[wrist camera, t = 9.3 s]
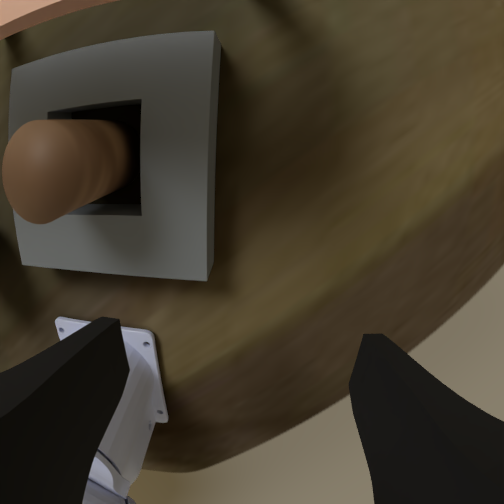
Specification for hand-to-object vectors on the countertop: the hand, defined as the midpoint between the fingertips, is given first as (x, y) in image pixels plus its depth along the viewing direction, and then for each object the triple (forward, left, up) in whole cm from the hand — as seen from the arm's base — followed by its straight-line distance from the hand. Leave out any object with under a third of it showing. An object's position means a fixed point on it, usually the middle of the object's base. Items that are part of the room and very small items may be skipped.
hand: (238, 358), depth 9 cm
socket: (+5, +8, -9) cm, 13 cm away
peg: (+5, +8, -9) cm, 13 cm away
